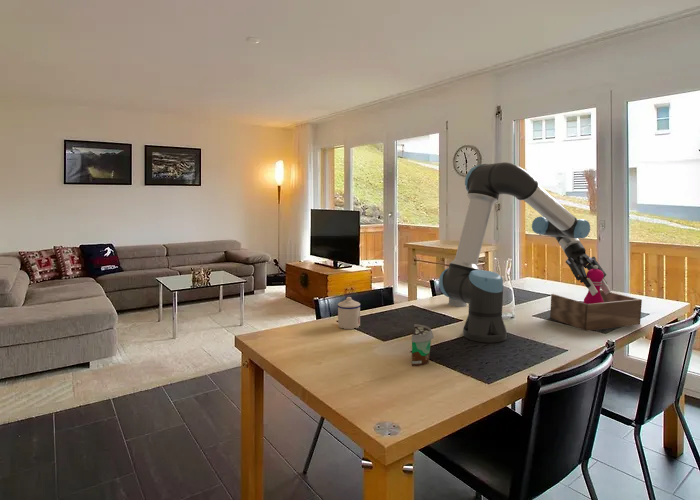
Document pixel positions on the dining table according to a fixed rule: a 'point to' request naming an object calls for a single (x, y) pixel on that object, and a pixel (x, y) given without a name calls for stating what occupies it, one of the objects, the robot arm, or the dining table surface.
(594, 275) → the pepper mill
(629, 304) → the open-sided box
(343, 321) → the teacup with lid
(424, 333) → the food container
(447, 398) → the dining table surface
